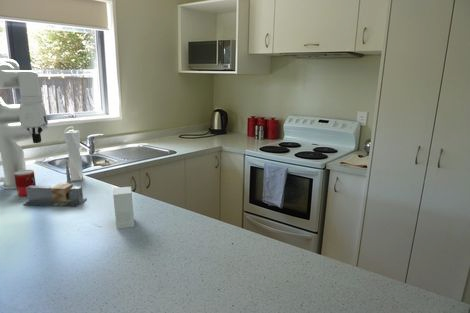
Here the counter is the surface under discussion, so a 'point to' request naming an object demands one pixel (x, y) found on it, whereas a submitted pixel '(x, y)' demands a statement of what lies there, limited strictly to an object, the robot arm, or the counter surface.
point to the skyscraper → (73, 156)
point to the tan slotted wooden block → (60, 192)
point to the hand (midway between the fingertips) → (37, 142)
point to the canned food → (24, 181)
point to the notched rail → (44, 197)
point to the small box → (123, 207)
